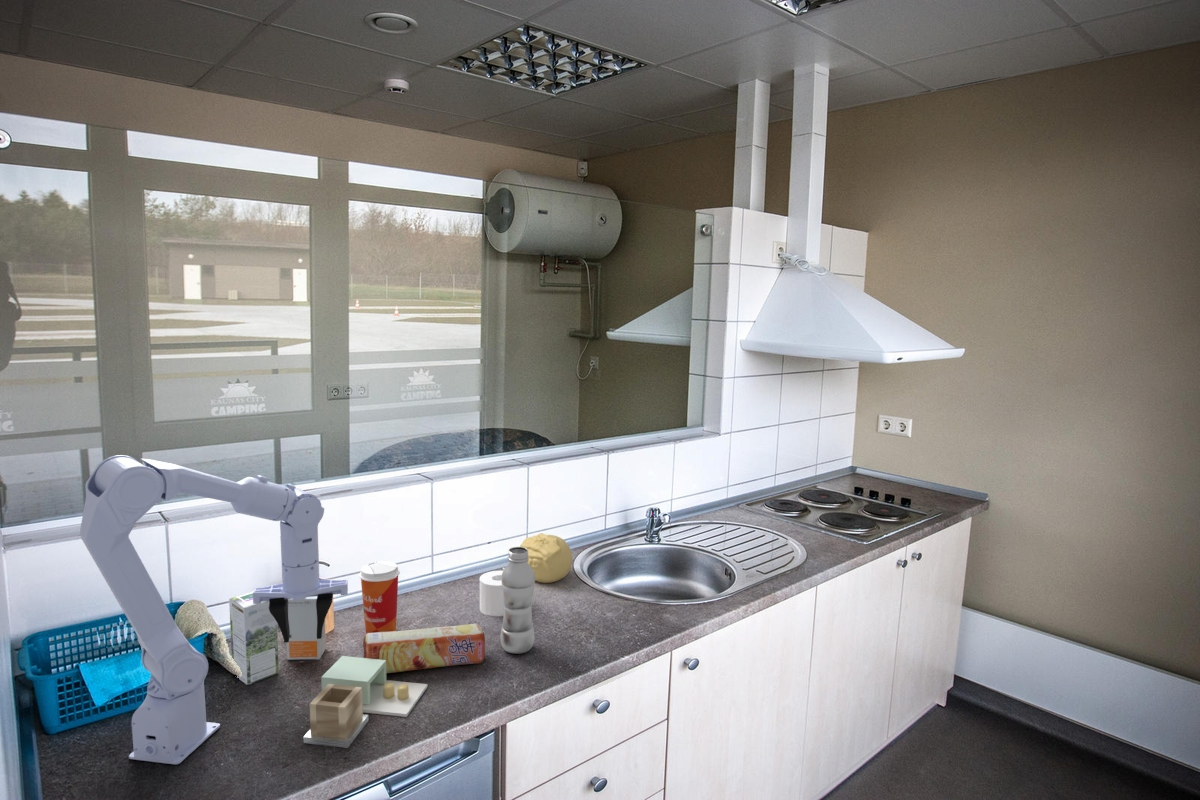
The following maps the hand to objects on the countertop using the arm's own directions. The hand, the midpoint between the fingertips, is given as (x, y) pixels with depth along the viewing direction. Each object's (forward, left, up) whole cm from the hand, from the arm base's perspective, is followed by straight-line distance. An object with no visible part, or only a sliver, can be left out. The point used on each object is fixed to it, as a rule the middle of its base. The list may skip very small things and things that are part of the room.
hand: (303, 637), depth 121 cm
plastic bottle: (+20, -32, -10) cm, 39 cm away
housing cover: (0, -9, -9) cm, 12 cm away
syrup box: (+3, +11, -10) cm, 15 cm away
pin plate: (-10, -11, -9) cm, 18 cm away
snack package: (+11, -17, -9) cm, 22 cm away
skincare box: (+11, +6, -10) cm, 16 cm away
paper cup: (+21, -4, -10) cm, 23 cm away
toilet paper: (+39, -24, -10) cm, 47 cm away
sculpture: (+56, -30, -10) cm, 64 cm away
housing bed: (0, -12, -9) cm, 16 cm away
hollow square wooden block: (-10, -11, -8) cm, 17 cm away
